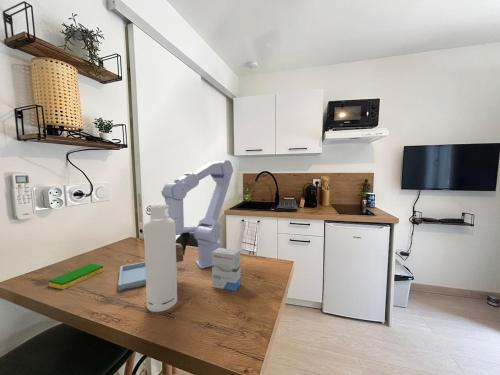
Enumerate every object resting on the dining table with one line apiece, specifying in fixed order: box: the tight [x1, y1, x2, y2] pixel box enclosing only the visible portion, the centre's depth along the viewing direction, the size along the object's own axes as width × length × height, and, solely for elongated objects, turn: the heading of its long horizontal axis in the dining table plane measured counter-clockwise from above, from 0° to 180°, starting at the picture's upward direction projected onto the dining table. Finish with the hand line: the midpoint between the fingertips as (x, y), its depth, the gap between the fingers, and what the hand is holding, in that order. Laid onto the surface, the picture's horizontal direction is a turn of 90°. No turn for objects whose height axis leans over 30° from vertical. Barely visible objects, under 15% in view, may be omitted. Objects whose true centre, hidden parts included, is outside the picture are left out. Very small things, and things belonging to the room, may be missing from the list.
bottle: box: [143, 204, 178, 313], centre depth 59 cm, size 8×8×28 cm
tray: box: [117, 261, 146, 292], centre depth 76 cm, size 14×16×2 cm
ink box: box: [211, 247, 242, 292], centre depth 68 cm, size 8×5×12 cm, turn 71°
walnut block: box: [176, 243, 184, 263], centre depth 73 cm, size 4×4×5 cm
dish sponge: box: [48, 263, 105, 290], centre depth 75 cm, size 7×14×2 cm, turn 163°
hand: (176, 255), depth 73 cm, fingers closed on walnut block, 4 cm apart
